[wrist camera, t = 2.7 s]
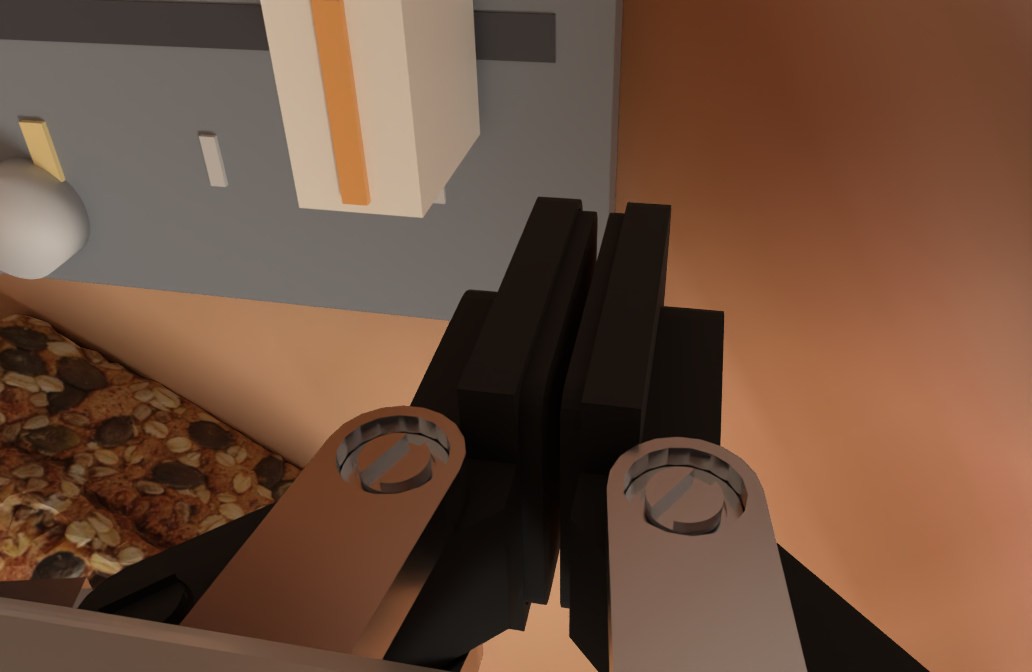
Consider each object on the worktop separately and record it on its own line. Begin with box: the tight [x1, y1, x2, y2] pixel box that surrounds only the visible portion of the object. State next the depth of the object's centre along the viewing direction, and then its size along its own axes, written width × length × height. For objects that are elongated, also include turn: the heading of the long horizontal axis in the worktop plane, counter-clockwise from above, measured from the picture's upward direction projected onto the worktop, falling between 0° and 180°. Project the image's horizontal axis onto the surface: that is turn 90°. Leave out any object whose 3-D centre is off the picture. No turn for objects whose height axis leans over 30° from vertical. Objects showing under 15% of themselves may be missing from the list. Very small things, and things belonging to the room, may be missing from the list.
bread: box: [0, 314, 302, 588], centre depth 34 cm, size 19×11×10 cm, turn 59°
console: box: [0, 0, 623, 321], centre depth 25 cm, size 24×16×3 cm, turn 92°
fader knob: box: [260, 0, 480, 218], centre depth 20 cm, size 3×5×5 cm, turn 2°
